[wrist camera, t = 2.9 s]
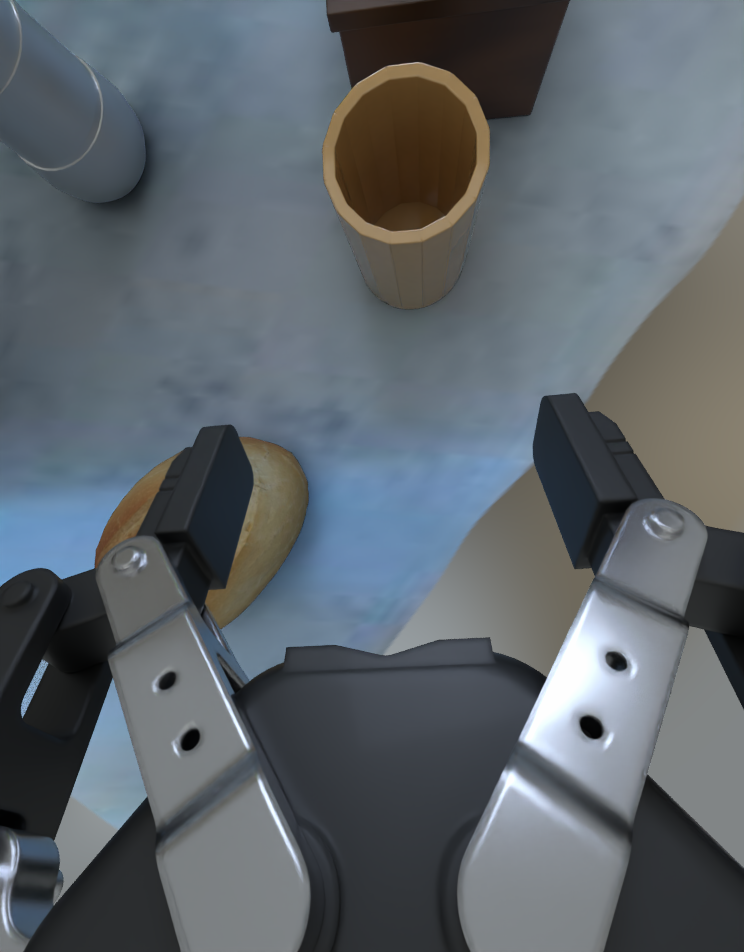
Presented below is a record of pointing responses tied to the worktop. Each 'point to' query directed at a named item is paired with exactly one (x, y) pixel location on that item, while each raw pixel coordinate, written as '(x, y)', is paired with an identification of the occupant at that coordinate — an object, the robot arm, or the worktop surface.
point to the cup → (408, 179)
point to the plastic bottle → (65, 114)
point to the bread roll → (263, 532)
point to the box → (455, 43)
